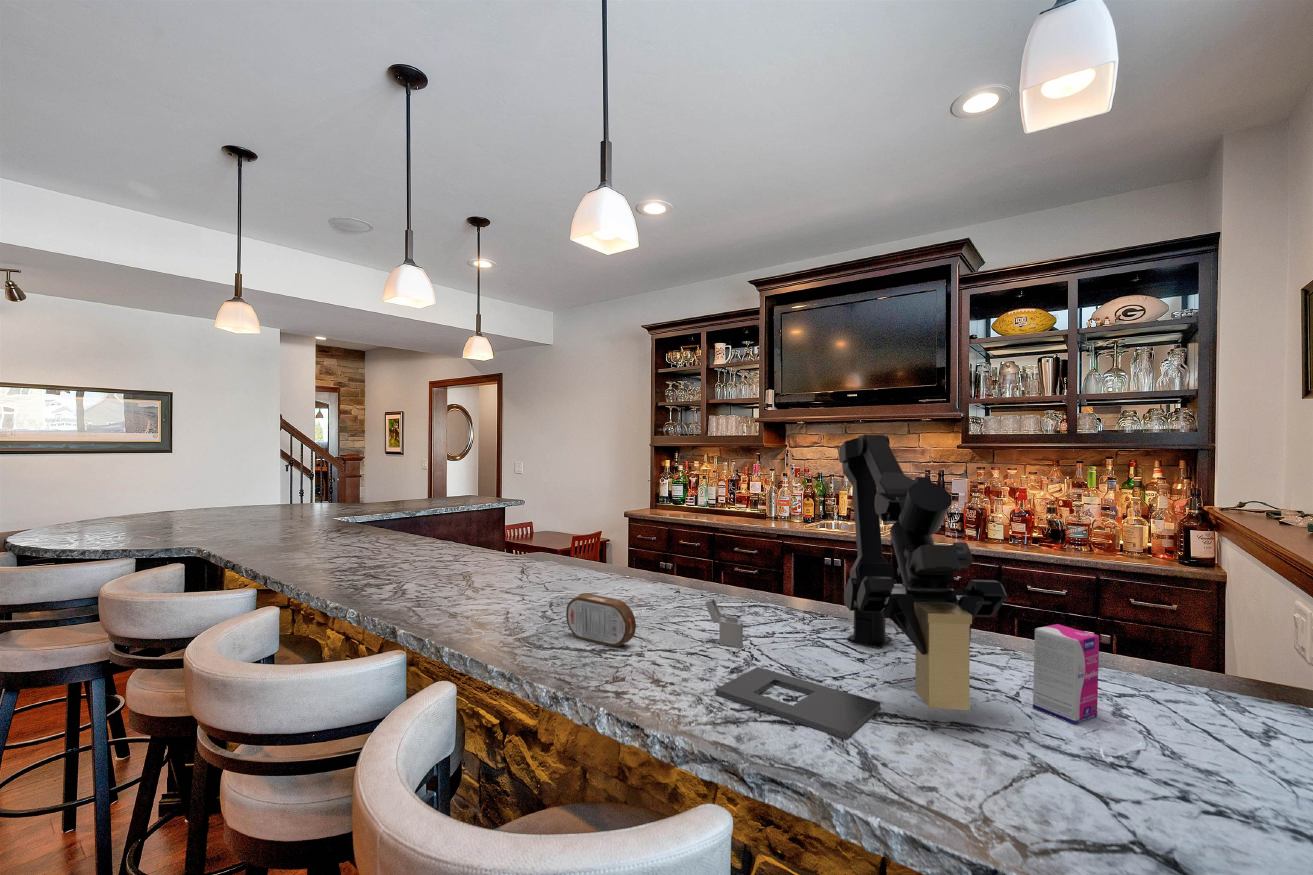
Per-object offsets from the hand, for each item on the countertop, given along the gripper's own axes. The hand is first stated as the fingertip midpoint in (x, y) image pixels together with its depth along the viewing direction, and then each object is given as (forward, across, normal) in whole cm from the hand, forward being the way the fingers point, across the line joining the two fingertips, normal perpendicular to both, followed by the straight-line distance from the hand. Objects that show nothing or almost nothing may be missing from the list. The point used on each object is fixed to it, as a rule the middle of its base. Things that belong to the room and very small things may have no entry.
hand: (945, 654), depth 76 cm
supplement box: (+2, +19, +12) cm, 23 cm away
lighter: (-14, -28, +29) cm, 43 cm away
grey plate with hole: (+2, -18, +12) cm, 22 cm away
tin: (-13, -52, +28) cm, 60 cm away
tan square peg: (+4, 0, +6) cm, 7 cm away
